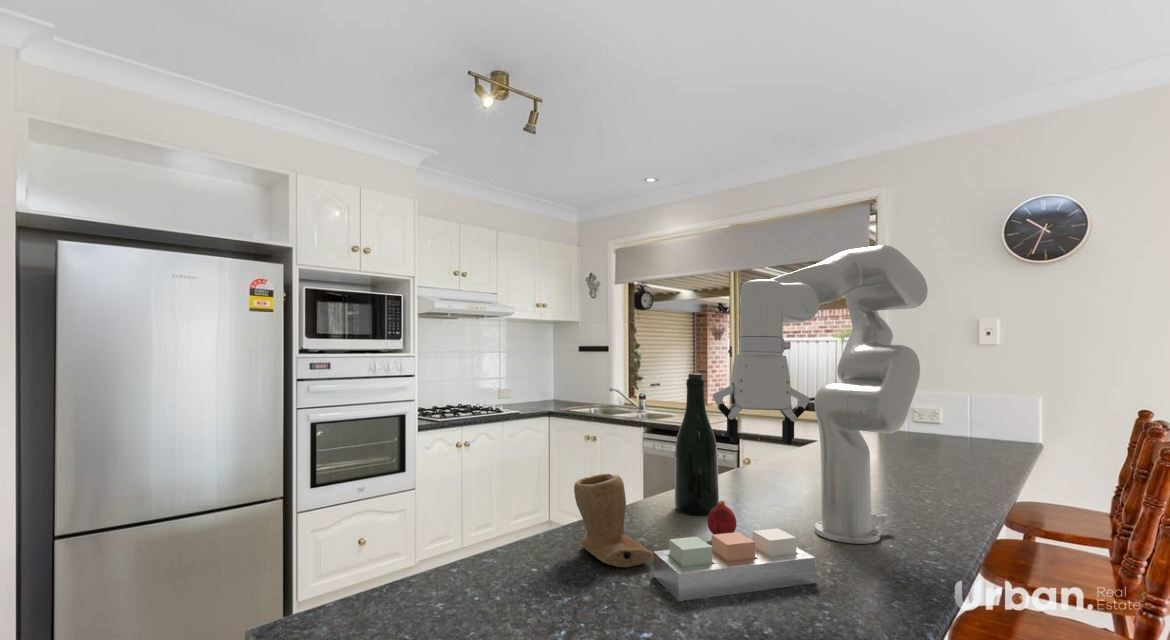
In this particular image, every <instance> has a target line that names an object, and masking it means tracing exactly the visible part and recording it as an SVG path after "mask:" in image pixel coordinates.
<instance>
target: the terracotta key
mask: <svg viewBox="0 0 1170 640" xmlns="http://www.w3.org/2000/svg"><path fill="white" fill-rule="evenodd" d="M711 545H712V553H714V554H715V555H716V556H718V557H719V558H721V559H722V560H723V561H725V562H726V563H729V562H737V561H746V560H754V559H755V542H754V541H753V539H751V538H749V537H747V536H746V535H744V534H742V533H741V532H739V531H737V532H735V531H734V533H725V534H715V535H713V534H711Z"/></svg>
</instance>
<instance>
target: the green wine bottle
mask: <svg viewBox="0 0 1170 640" xmlns="http://www.w3.org/2000/svg"><path fill="white" fill-rule="evenodd" d="M687 377H688V378H687V379H686V383H685V385H686V402H685V403H686V405H685V411H684V415H683V418H682V422H681V424H680V427H679V430H678V433H677V435H676V439H675V452H674V506H675V509H676V510H677V511H679V512H680V513H682V514H685V515H691V516H708V515H709V513H710V511H711V510H712V509H713V508H714V507H716V506H717V505H718V504H719V501H720V495H719V490H720V489H719V464H718V463H719V462H718V461H719V460H718V459H719V458H718V447H717V446H718V445H717V440H716V436H715V433H714V431H713V428H712V425H711V423H710V420H709V417H708V413H707V409H706V402H705V401H706V400H705V385H706V383H705V379H704V378H703V374H702V373H688V376H687Z"/></svg>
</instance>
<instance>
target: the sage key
mask: <svg viewBox="0 0 1170 640" xmlns="http://www.w3.org/2000/svg"><path fill="white" fill-rule="evenodd" d="M668 544H669V546H668V548H669V549H668V550H669V557H670V558H671V559H672V560H673V561H674V562H675V563H677V564H678V565H679V566H680V567H681V568H686V567H694V566H703V565H711V564H712V546H710V544H709V543H707V542H705V541H704V540H703V539H701V538H700V537H698V536H689V537H679V538H671V539H669V541H668Z"/></svg>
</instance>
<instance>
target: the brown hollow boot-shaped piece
mask: <svg viewBox="0 0 1170 640" xmlns="http://www.w3.org/2000/svg"><path fill="white" fill-rule="evenodd" d="M573 493H574V498H575V504H576V506H577V508H578V511H579V513H580V516H581V517H582V520H583V523H584V526H585V529H586V533H587V536H586V537H584V538H582V539H581V545H582V547H583V548H584V550H585V551H587V552H588V553H589V554H590V555H592V556H593V557H595V558H596V559H597V560H599V561H600V562H602V563H604V564H607V565H609V566H614V567H618V568H631V567H635V566H639V565H642V564H644V563H647V562H650V560H652V559H654V555H653V552H652V551H651V550H649V549H648V548H646V547H645V546H644V545H642V544H641V543H639V542H638V541H636V540H634V539H633V538H632V537H630V536H629V535H626V533H625V525H624V524H625V517H626V516H625V515H626V506H627V501H626V499H627V498H626V491H625V484H624V480H623V478H622V477H621V476H620V475H619V474H615V475H613V474H611V473H603V474H602V473H601V474H595V475H592V476H586V477H582V478H579V479H578V480H577V481H575V483H574V487H573Z"/></svg>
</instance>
